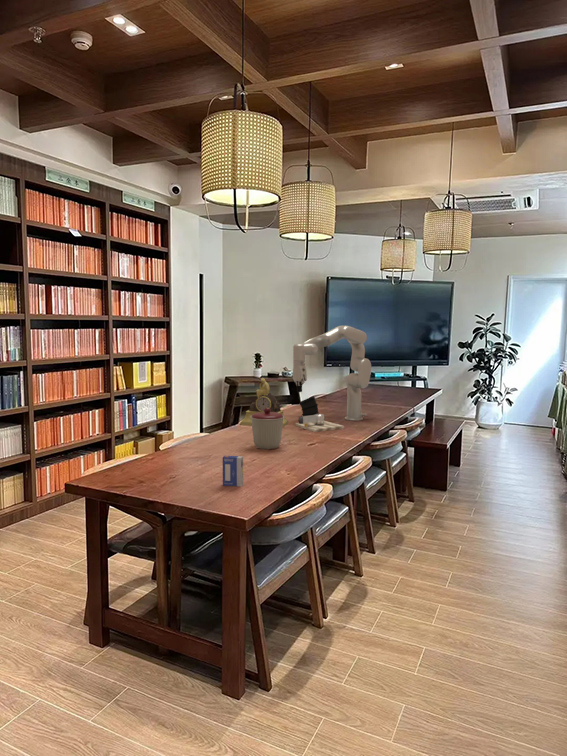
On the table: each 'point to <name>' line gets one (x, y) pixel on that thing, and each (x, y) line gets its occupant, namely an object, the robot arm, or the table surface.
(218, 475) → the table surface
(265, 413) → the canister
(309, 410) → the black box
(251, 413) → the decorative clock
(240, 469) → the walkman
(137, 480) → the table surface
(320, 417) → the capstan lever
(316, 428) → the dial base
